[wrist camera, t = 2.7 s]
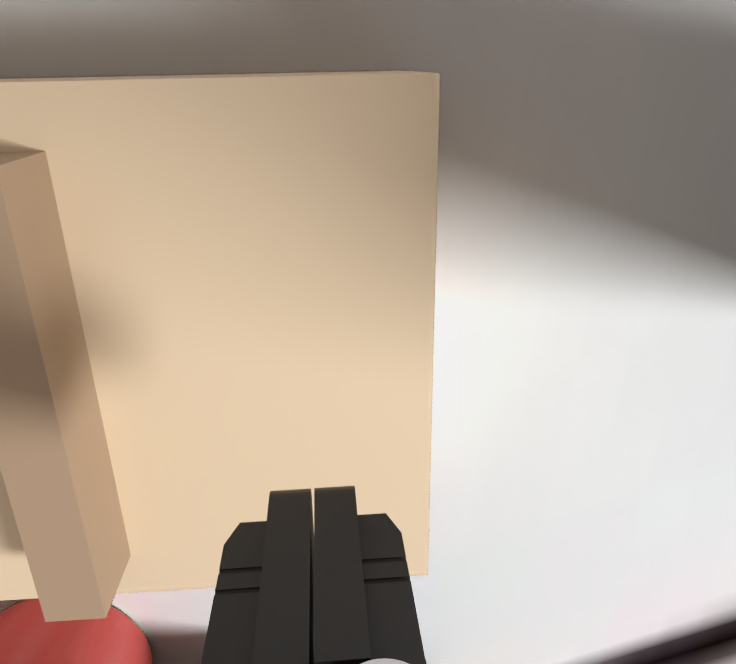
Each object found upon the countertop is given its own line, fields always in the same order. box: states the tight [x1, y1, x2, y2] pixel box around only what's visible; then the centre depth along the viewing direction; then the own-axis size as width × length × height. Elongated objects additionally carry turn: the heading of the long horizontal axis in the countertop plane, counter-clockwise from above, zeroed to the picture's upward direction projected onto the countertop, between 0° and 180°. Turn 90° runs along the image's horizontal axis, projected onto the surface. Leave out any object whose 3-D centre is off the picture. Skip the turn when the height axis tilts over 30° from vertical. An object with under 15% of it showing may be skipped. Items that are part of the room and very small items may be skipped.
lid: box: [0, 73, 440, 622], centre depth 16 cm, size 20×15×3 cm
